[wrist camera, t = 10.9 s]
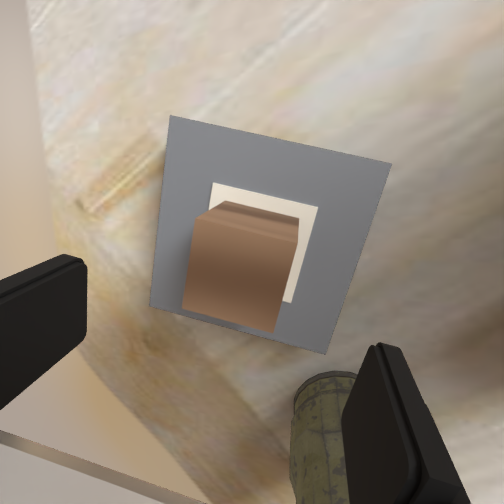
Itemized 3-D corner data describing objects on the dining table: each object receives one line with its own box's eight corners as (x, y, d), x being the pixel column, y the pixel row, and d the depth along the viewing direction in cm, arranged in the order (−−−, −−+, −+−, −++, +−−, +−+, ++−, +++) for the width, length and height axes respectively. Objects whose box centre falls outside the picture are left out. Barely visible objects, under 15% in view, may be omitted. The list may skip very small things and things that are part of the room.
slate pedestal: (191, 121, 23) (168, 114, 19) (376, 162, 22) (392, 163, 18) (170, 285, 28) (147, 307, 24) (322, 326, 27) (325, 356, 23)
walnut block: (225, 200, 20) (195, 218, 15) (299, 218, 20) (297, 243, 14) (213, 268, 22) (181, 308, 16) (281, 286, 21) (273, 333, 16)
